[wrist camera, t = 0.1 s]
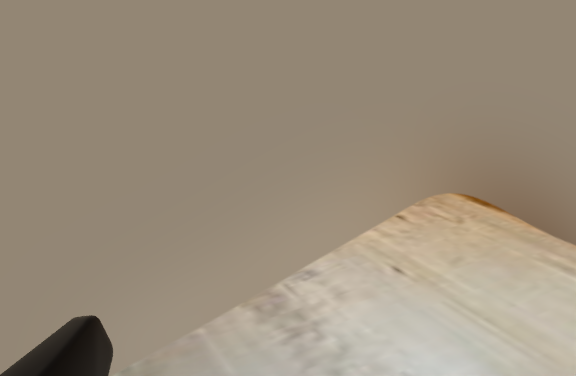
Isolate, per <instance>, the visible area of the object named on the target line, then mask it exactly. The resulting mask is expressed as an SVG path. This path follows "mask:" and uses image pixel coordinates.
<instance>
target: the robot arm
mask: <svg viewBox="0 0 576 376" xmlns="http://www.w3.org/2000/svg"><path fill="white" fill-rule="evenodd" d="M112 357H113V348H112V344H111V341H110V339H109V337H108V335H107V334H106V331H105V329H104V328H103V325H102V324H101V321H100V320H99V319H98V318H97V317H96V316H82V317H76V318H73V319H72V320H70V321H69V322H68V323H66V324H65V325H64V326H62V327H61V328H60V329H59V330H57V331H56V332H55V333H53V334H52V335H51V336H50V337H48V338H47V339H46V340H44V341H43V342H42V343H41V344H39V345H38V346H37V347H35V348H34V349H33V350H32V351H30V352H29V353H28V354H26V355H25V356H24V357H23V358H21V359H20V360H19V361H17V362H16V363H15V364H14V365H12V366H11V367H10V368H8V369H7V370H6V371H4V372H3V373H2V374H1V375H0V376H108V374H109V370H110V365H111V362H112Z"/></svg>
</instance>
